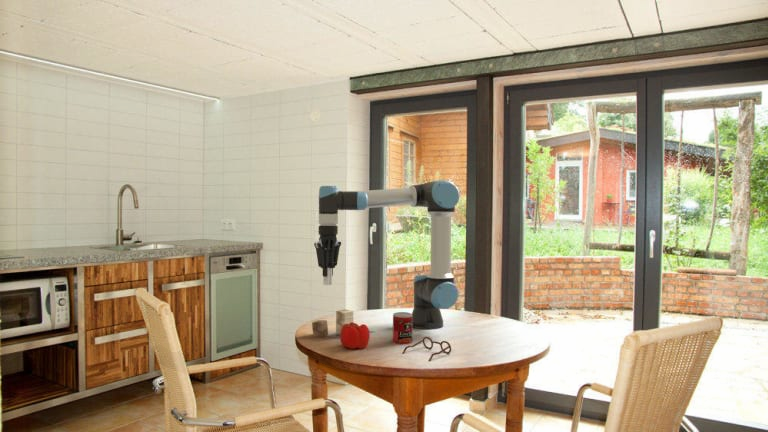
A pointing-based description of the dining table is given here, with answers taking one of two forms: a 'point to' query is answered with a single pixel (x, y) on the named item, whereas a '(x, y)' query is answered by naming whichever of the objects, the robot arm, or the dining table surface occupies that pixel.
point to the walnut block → (320, 328)
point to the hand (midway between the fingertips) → (327, 284)
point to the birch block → (343, 319)
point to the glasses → (432, 346)
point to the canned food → (402, 327)
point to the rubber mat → (339, 336)
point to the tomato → (354, 336)
